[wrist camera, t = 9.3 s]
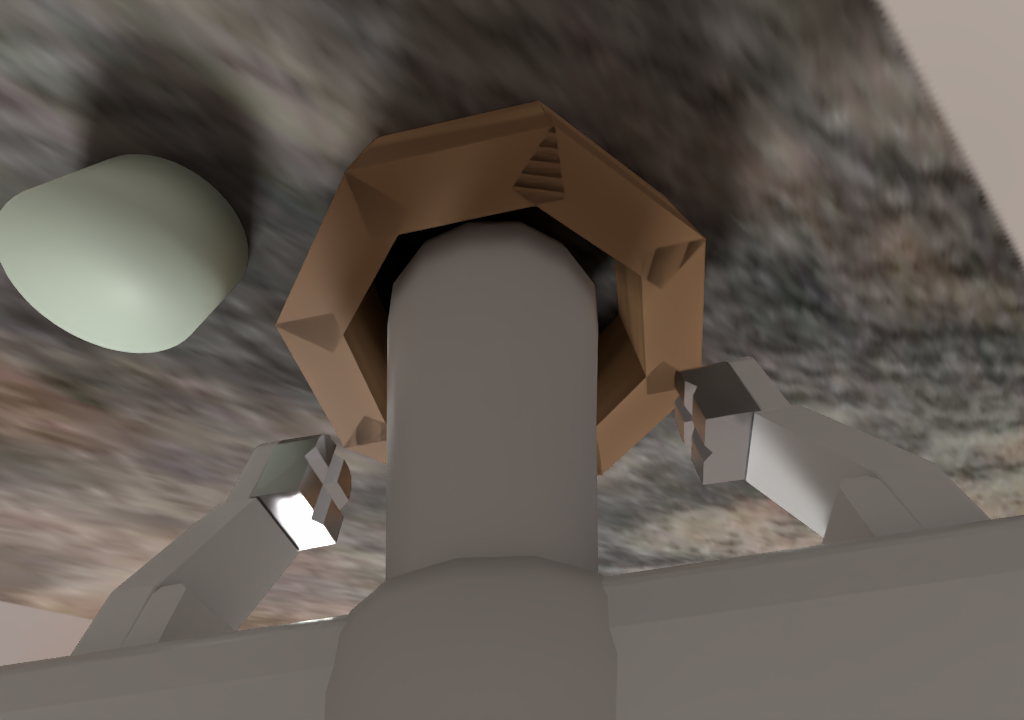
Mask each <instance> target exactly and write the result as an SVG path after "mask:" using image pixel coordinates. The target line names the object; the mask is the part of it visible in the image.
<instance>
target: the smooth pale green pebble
mask: <svg viewBox="0 0 1024 720" xmlns="http://www.w3.org/2000/svg"><path fill="white" fill-rule="evenodd" d="M248 256H249V254H248V243H247V238H246V235H245V232H244V229H243V226H242V224H241V222H240V220H239V218H238V216H237V215H236V213H235V211H234V210H233V208H232V207H231V206H230V204H229V203H228V202H227V200H226V199H225V198H224V197H223V196H222V195H221V194H220V193H219V192H218V190H216V189H215V188H214V187H213V186H212V185H211V184H210V183H209V182H207V181H206V180H205V179H203V178H202V177H200V176H199V175H198V174H196V173H194V172H193V171H191V170H189V169H188V168H186V167H184V166H182V165H180V164H177V163H175V162H173V161H170V160H167V159H164V158H160V157H156V156H152V155H144V154H126V155H120V156H116V157H113V158H110V159H107V160H105V161H102V162H99V163H97V164H94V165H92V166H89V167H86V168H84V169H81V170H78V171H76V172H73V173H71V174H68V175H65V176H63V177H60V178H57V179H55V180H52V181H49V182H47V183H44V184H42V185H39V186H36V187H34V188H31V189H28V190H26V191H23V192H21V193H20V194H18V195H16V196H14V197H13V198H12V199H11V200H10V201H8V202H7V203H6V204H5V206H4V207H3V208H2V210H1V211H0V262H1V264H2V266H3V268H4V270H5V272H6V274H7V276H8V277H9V279H10V280H11V282H12V283H13V285H14V286H15V287H16V289H17V290H18V291H19V292H20V294H21V295H22V296H23V297H24V298H25V299H26V300H27V301H28V302H29V303H30V304H31V305H32V306H33V307H34V308H35V309H36V310H37V311H39V312H40V313H41V314H42V315H43V316H45V317H46V318H47V319H49V320H50V321H51V322H53V323H54V324H56V325H57V326H59V327H60V328H62V329H64V330H65V331H67V332H69V333H71V334H73V335H75V336H77V337H79V338H81V339H83V340H85V341H88V342H90V343H93V344H96V345H99V346H101V347H105V348H109V349H113V350H117V351H123V352H132V353H150V352H158V351H162V350H166V349H169V348H172V347H174V346H176V345H178V344H180V343H181V342H183V341H184V340H185V339H187V338H188V337H189V336H190V335H191V334H192V333H193V332H194V331H195V330H196V328H197V327H198V326H199V325H200V324H201V323H202V322H203V321H204V320H205V319H206V318H207V317H208V316H209V314H210V313H211V312H212V311H213V310H214V309H215V308H216V307H217V306H218V305H219V304H220V303H221V302H222V300H223V299H224V298H225V297H226V296H227V295H228V294H229V293H230V292H231V291H232V290H233V289H234V288H235V287H236V285H237V284H238V283H239V282H240V280H241V279H242V277H243V275H244V273H245V271H246V268H247V264H248Z"/></svg>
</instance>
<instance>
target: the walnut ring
mask: <svg viewBox="0 0 1024 720" xmlns="http://www.w3.org/2000/svg"><path fill="white" fill-rule="evenodd" d="M532 206H537V207H538V208H540V209H541V210H543V211H544V212H546V213H547V214H549V215H550V216H552V217H553V218H555V219H556V220H558V221H559V222H561V223H562V224H564V225H565V226H567V227H568V228H570V229H571V230H573V231H574V232H576V233H577V234H579V235H580V236H582V237H583V238H585V239H586V240H588V241H589V242H591V243H592V244H594V245H595V246H597V247H598V248H600V249H601V250H603V251H604V252H606V253H607V254H609V255H610V256H612V257H613V258H614V264H615V276H616V288H617V300H618V312H619V314H618V315H617V316H616V317H615V318H614V319H613V321H612V322H611V323H610V324H609V325H608V326H607V327H606V328H605V330H604V331H603V332H602V333H601V334H600V335H599V336H598V367H597V414H596V443H597V476H598V475H602V474H603V473H604V472H605V471H606V470H608V469H609V468H610V467H611V466H612V465H613V464H614V463H615V462H616V461H617V460H619V459H620V458H621V457H622V456H623V455H624V454H625V453H626V452H627V451H628V450H630V449H631V448H632V447H633V446H634V445H635V444H636V443H637V442H638V441H639V440H640V439H642V438H643V437H644V436H645V435H646V434H647V433H648V432H649V431H650V430H651V429H653V428H654V427H655V426H656V425H657V424H658V423H659V422H660V421H661V420H662V419H664V418H665V417H666V416H667V415H668V414H669V413H670V412H671V411H672V410H673V409H675V403H674V402H675V400H676V399H677V398H678V397H679V394H678V392H677V390H676V388H675V386H674V376H675V372H676V371H677V370H682V369H687V368H693V367H698V366H701V361H702V331H703V302H704V272H705V242H706V238H705V237H704V236H703V235H702V234H701V233H700V232H699V231H698V230H697V229H696V228H695V227H694V226H693V225H692V224H691V223H690V222H689V221H688V220H687V219H686V218H685V217H684V215H683V214H682V213H681V212H680V211H679V210H678V209H677V208H676V207H675V206H674V205H673V204H672V203H671V202H670V201H669V200H668V199H667V198H666V197H665V196H664V195H663V194H662V193H660V192H659V191H657V190H656V189H655V188H653V187H652V186H651V185H649V184H648V183H647V182H645V181H644V180H643V179H641V178H640V177H639V176H638V175H636V174H635V173H634V172H632V171H631V170H630V169H628V168H627V167H626V166H624V165H623V164H622V163H620V162H619V161H618V160H617V159H615V158H614V157H613V156H611V155H610V154H609V153H607V152H606V151H605V150H603V149H602V148H601V147H599V146H598V145H597V144H596V143H594V142H593V141H592V140H590V139H589V138H588V137H586V136H585V135H584V134H582V133H581V132H580V131H578V130H577V129H576V128H575V127H573V126H572V125H571V124H569V123H568V122H567V121H565V120H564V119H563V118H561V117H560V116H559V115H557V114H556V113H555V112H554V111H552V110H551V109H550V108H548V107H547V106H546V105H544V104H543V103H542V102H541V101H540V100H538V101H534V102H529V103H525V104H520V105H516V106H512V107H507V108H503V109H499V110H494V111H490V112H486V113H481V114H477V115H473V116H468V117H464V118H459V119H455V120H451V121H446V122H442V123H438V124H433V125H429V126H425V127H420V128H416V129H412V130H407V131H403V132H399V133H394V134H390V135H385V136H381V137H377V138H375V139H374V140H373V141H372V143H371V144H370V145H369V146H368V147H367V148H366V149H365V150H364V151H363V152H362V153H361V155H360V156H359V157H358V158H357V159H356V160H355V161H354V162H353V163H352V164H351V165H350V166H349V168H348V169H347V170H346V171H345V172H344V176H343V178H342V180H341V182H340V185H339V187H338V189H337V191H336V193H335V196H334V198H333V200H332V202H331V204H330V207H329V209H328V211H327V213H326V215H325V218H324V220H323V222H322V224H321V226H320V229H319V231H318V233H317V235H316V237H315V240H314V242H313V244H312V246H311V248H310V251H309V253H308V255H307V257H306V259H305V262H304V264H303V266H302V268H301V270H300V273H299V275H298V277H297V279H296V281H295V284H294V286H293V288H292V290H291V292H290V295H289V297H288V299H287V301H286V303H285V306H284V308H283V310H282V312H281V314H280V317H279V319H278V321H277V322H276V324H275V326H276V327H277V329H278V331H279V332H280V334H281V336H282V338H283V339H284V341H285V343H286V345H287V347H288V348H289V350H290V352H291V354H292V355H293V357H294V359H295V361H296V362H297V364H298V366H299V368H300V369H301V371H302V373H303V375H304V377H305V378H306V380H307V382H308V384H309V385H310V387H311V389H312V391H313V392H314V394H315V396H316V398H317V399H318V401H319V403H320V405H321V407H322V408H323V410H324V412H325V414H326V415H327V417H328V419H329V421H330V422H331V424H332V426H333V428H334V430H335V431H336V433H337V435H338V437H339V438H340V440H341V442H342V444H343V445H344V447H345V448H347V449H350V450H353V451H355V452H358V453H360V454H363V455H365V456H368V457H371V458H373V459H376V460H378V461H381V462H383V463H386V464H387V328H388V316H387V314H386V311H385V309H384V306H383V304H382V301H381V299H380V297H379V294H378V292H377V289H376V287H375V284H374V282H373V280H374V278H375V276H376V274H377V272H378V271H379V269H380V267H381V265H382V263H383V261H384V260H385V258H386V256H387V254H388V252H389V251H390V249H391V247H392V245H393V243H394V241H395V240H396V238H397V236H398V235H400V234H404V233H409V232H414V231H418V230H423V229H428V228H433V227H437V226H442V225H447V224H451V223H456V222H461V221H466V220H470V219H475V218H480V217H485V216H489V215H494V214H499V213H503V212H508V211H513V210H518V209H522V208H527V207H532Z"/></svg>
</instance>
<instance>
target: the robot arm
mask: <svg viewBox="0 0 1024 720" xmlns="http://www.w3.org/2000/svg"><path fill="white" fill-rule="evenodd" d="M674 386H675V388H676V390H677V392H678V394H679V397H678V398H677V399H676V400H675V402H674V403H675V417H676V422H677V427H678V430H679V433H680V436H681V438H682V440H683V443H684V444H685V445H687V446H688V447H690V448H691V460H692V462H693V464H694V467H695V469H696V471H697V473H698V475H699V477H700V479H701V481H702V484H703V485H704V484H712V483H719V482H726V481H734V480H741V479H746V481H747V482H748V483H750V484H751V485H752V486H754V487H755V488H756V489H758V490H759V491H760V492H762V493H763V494H765V495H766V496H767V497H769V498H770V499H771V500H773V501H774V502H776V503H777V504H778V505H780V506H781V507H782V508H784V509H785V510H786V511H788V512H789V513H791V514H792V515H793V516H795V517H796V518H797V519H799V520H800V521H802V522H803V523H804V524H806V525H807V526H808V527H810V528H811V529H812V530H814V531H815V532H817V533H818V534H819V535H821V536H822V537H823V542H822V545H816V546H809V547H802V548H796V549H789V550H782V551H775V552H768V553H762V554H755V555H748V556H741V557H734V558H728V559H721V560H714V561H707V562H701V563H694V564H687V565H680V566H674V567H667V568H660V569H653V570H647V571H640V572H633V573H626V574H620V575H613V576H606V577H604V579H603V581H602V585H603V588H604V590H605V592H606V593H607V597H608V616H609V629H610V632H611V635H612V638H613V642H614V645H615V648H616V651H617V690H616V720H1024V515H1020V516H1013V517H1006V518H999V519H992V520H991V519H990V518H989V517H988V516H987V515H986V514H985V513H984V512H983V511H982V510H981V509H980V508H979V507H978V506H977V505H976V504H975V503H974V502H973V501H972V500H971V499H970V498H969V497H968V496H967V495H966V494H965V493H964V492H963V491H962V490H961V489H960V488H959V487H958V486H957V485H956V484H955V483H954V482H953V481H952V480H951V479H950V478H949V477H948V476H947V475H946V474H945V473H944V472H943V471H942V470H941V469H940V468H939V467H938V466H937V465H936V464H935V463H933V462H931V461H928V460H926V459H924V458H921V457H919V456H917V455H914V454H912V453H910V452H907V451H905V450H903V449H901V448H898V447H896V446H894V445H891V444H889V443H887V442H884V441H882V440H880V439H877V438H875V437H873V436H870V435H868V434H866V433H863V432H861V431H859V430H856V429H854V428H852V427H850V426H847V425H845V424H843V423H840V422H838V421H836V420H833V419H831V418H829V417H826V416H824V415H822V414H819V413H817V412H815V411H812V410H810V409H808V408H805V407H803V406H801V405H794V406H791V405H790V404H789V402H788V401H787V400H786V399H785V397H784V396H783V395H782V394H781V392H780V391H779V390H778V389H777V387H776V386H775V385H774V383H773V382H772V381H771V380H770V378H769V377H768V376H767V375H766V373H765V372H764V371H763V370H762V368H761V367H760V366H759V365H758V363H757V362H756V361H755V359H754V358H752V357H750V356H747V357H742V358H737V359H732V360H727V361H724V362H720V363H714V364H709V365H703V366H698V367H693V368H687V369H682V370H677V371H676V372H675V376H674ZM335 448H336V445H335V443H334V442H333V440H332V439H331V437H330V435H326V434H320V435H314V436H307V437H301V438H294V439H288V440H282V441H277V442H271V443H265V444H261V445H259V446H258V447H256V448H255V450H254V452H253V453H252V455H251V457H250V459H249V461H248V463H247V464H246V466H245V468H244V470H243V472H242V474H241V475H240V477H239V479H238V481H237V483H236V485H235V486H234V488H233V490H232V492H231V494H230V496H229V497H228V499H227V501H226V503H221V504H218V505H217V506H216V507H214V508H213V509H212V510H211V511H210V512H208V513H207V514H206V515H205V516H204V517H202V518H201V519H200V520H199V521H197V522H196V523H195V524H194V525H193V526H191V527H190V528H189V529H188V530H187V531H185V532H184V533H183V534H182V535H181V536H179V537H178V538H177V539H176V540H174V541H173V542H172V543H171V544H170V545H168V546H167V547H166V548H165V549H164V550H162V551H161V552H160V553H159V554H158V555H156V556H155V557H154V558H153V559H151V560H150V561H149V562H148V563H147V564H145V565H144V566H143V567H142V568H141V569H139V570H138V571H137V572H136V573H135V574H133V575H132V576H131V577H130V578H128V579H127V580H126V581H125V582H124V583H122V584H121V585H120V586H119V587H118V588H116V589H115V590H114V591H113V592H112V593H111V594H110V596H109V597H108V599H107V600H106V602H105V603H104V605H103V606H102V608H101V609H100V611H99V612H98V614H97V615H96V617H95V619H94V620H93V622H92V623H91V625H90V626H89V628H88V629H87V631H86V632H85V634H84V635H83V637H82V638H81V640H80V641H79V643H78V645H77V646H76V648H75V649H74V651H73V652H72V654H71V655H70V656H65V657H58V658H51V659H44V660H38V661H31V662H24V663H17V664H12V665H4V666H0V720H325V696H326V689H327V686H328V683H329V680H330V677H331V673H332V670H333V667H334V662H335V657H336V652H337V646H338V641H339V636H340V632H341V631H342V629H343V627H344V626H345V624H346V622H347V619H348V615H342V616H335V617H329V618H322V619H315V620H308V621H301V622H295V623H288V624H281V625H274V626H268V627H261V628H254V629H247V630H241V631H237V630H238V628H239V627H240V626H241V625H242V623H243V622H244V621H245V620H246V618H247V617H248V616H249V615H250V613H251V612H252V611H253V610H254V608H255V607H256V606H257V605H258V603H259V602H260V601H261V600H262V598H263V597H264V596H265V595H266V593H267V592H268V591H269V590H270V588H271V587H272V586H273V585H274V583H275V582H276V581H277V580H278V578H279V577H280V576H281V575H282V573H283V572H284V571H285V570H286V568H287V567H288V566H289V565H290V563H291V562H292V561H293V560H294V558H295V557H296V556H297V555H298V553H299V550H304V549H310V548H315V547H320V546H326V545H331V544H336V542H337V538H338V535H339V531H340V528H341V525H342V521H343V518H344V517H343V515H342V514H341V512H340V509H341V508H342V507H343V506H344V505H345V504H346V502H347V501H348V500H349V497H350V493H351V474H350V471H349V468H348V466H347V464H346V462H345V460H344V459H342V458H340V457H339V456H337V455H335V454H334V451H335Z"/></svg>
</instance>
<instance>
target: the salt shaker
mask: <svg viewBox="0 0 1024 720" xmlns="http://www.w3.org/2000/svg"><path fill="white" fill-rule="evenodd" d="M597 367H598V316H597V305H596V293H595V285H594V283H593V282H592V281H591V279H590V278H589V277H588V275H587V274H586V273H585V272H584V270H583V269H582V268H581V266H580V265H579V264H578V262H577V261H576V260H575V259H574V257H573V256H572V255H571V253H570V252H569V251H568V249H567V248H566V247H565V246H564V245H563V244H562V243H561V242H559V241H557V240H555V239H553V238H551V237H549V236H547V235H546V234H544V233H542V232H540V231H538V230H536V229H534V228H532V227H530V226H528V225H526V224H524V223H522V222H520V221H468V222H466V223H464V224H461V225H459V226H457V227H455V228H453V229H450V230H448V231H446V232H444V233H442V234H439V235H437V236H435V237H433V238H431V239H429V240H426V241H425V242H424V243H423V245H422V246H421V247H420V249H419V250H418V251H417V253H416V254H415V255H414V257H413V258H412V259H411V261H410V262H409V263H408V265H407V266H406V267H405V268H404V270H403V271H402V272H401V274H400V275H399V276H398V278H397V279H396V281H395V282H394V283H393V288H392V295H391V303H390V311H389V318H388V328H387V469H386V581H385V582H384V583H383V584H381V585H380V586H379V587H378V588H377V589H376V590H375V591H373V592H372V593H371V594H370V595H369V596H368V597H366V598H365V599H364V600H363V601H362V602H361V603H360V604H358V605H357V606H356V607H355V608H354V609H353V610H351V612H350V613H349V615H348V619H347V622H346V624H345V626H344V627H343V629H342V631H341V632H340V636H339V641H338V646H337V652H336V657H335V662H334V667H333V670H332V673H331V677H330V680H329V683H328V686H327V689H326V696H325V720H616V690H617V651H616V648H615V645H614V642H613V638H612V635H611V632H610V629H609V616H608V597H607V593H606V592H605V590H604V588H603V585H602V581H603V579H604V577H605V576H603V575H602V574H600V573H598V536H597V443H596V414H597Z"/></svg>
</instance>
